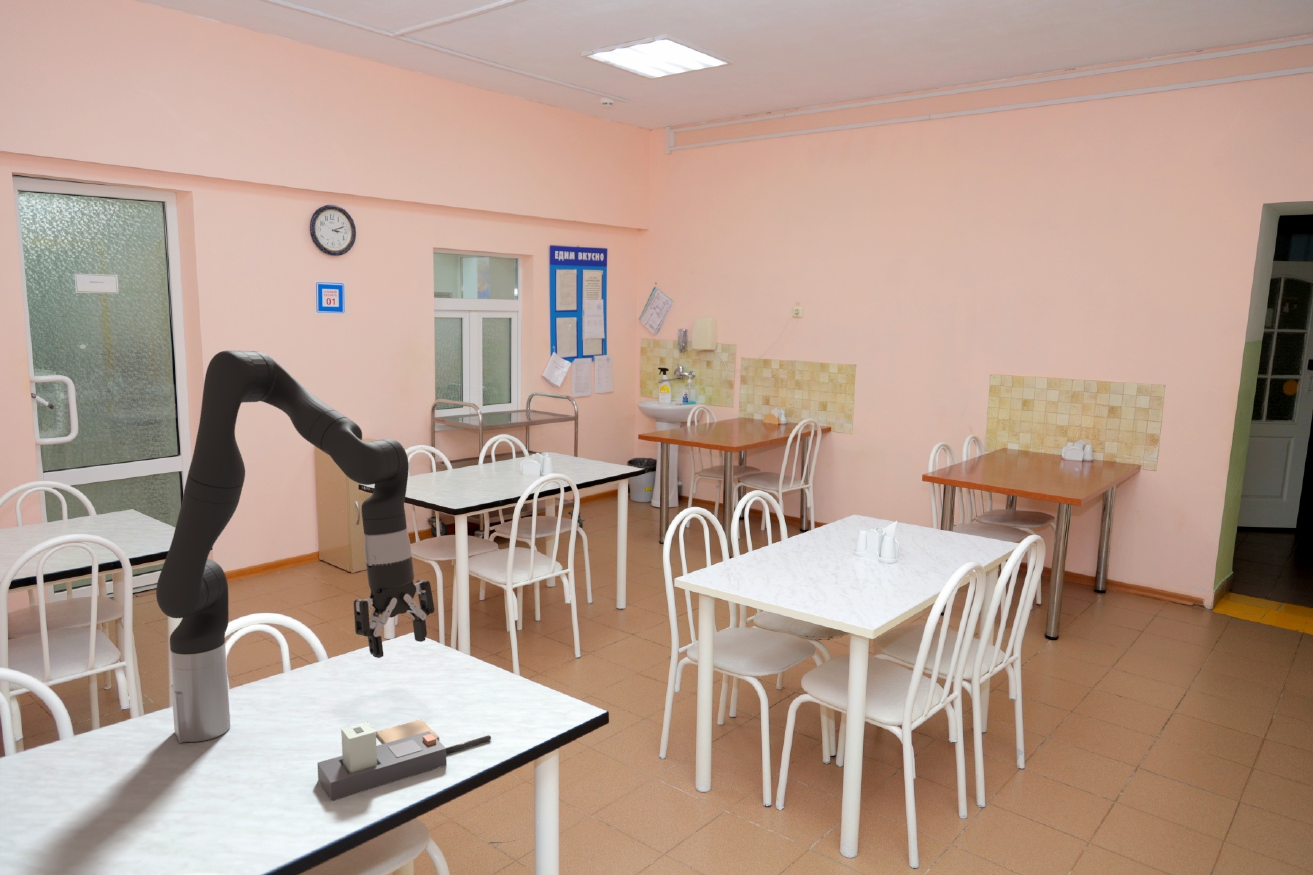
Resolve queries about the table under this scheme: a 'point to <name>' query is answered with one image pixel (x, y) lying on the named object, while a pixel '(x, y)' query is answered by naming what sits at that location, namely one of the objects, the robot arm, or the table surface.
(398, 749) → the power strip
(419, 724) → the cork mat
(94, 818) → the table surface
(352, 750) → the block
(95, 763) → the table surface
